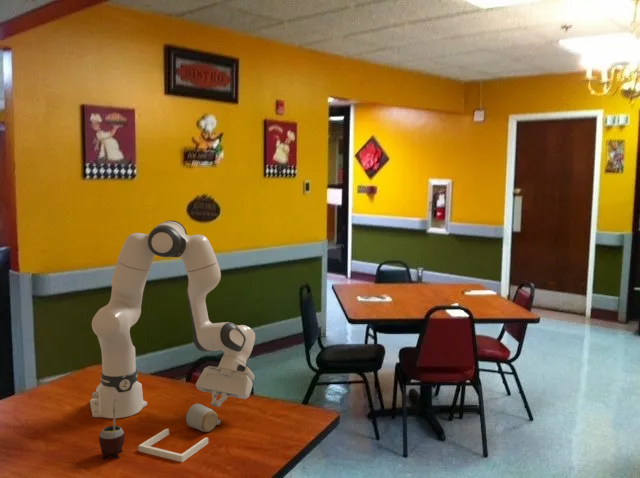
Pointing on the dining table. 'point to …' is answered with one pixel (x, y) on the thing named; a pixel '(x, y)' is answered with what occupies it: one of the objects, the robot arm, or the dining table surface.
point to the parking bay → (168, 454)
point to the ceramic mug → (202, 418)
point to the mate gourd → (111, 439)
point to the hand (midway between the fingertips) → (215, 405)
